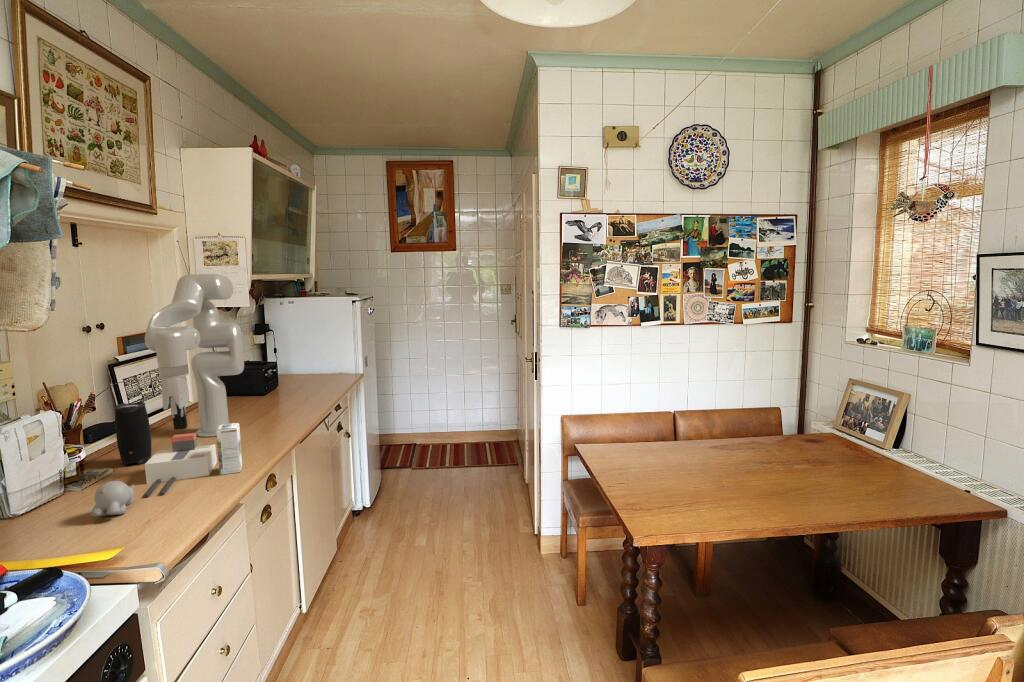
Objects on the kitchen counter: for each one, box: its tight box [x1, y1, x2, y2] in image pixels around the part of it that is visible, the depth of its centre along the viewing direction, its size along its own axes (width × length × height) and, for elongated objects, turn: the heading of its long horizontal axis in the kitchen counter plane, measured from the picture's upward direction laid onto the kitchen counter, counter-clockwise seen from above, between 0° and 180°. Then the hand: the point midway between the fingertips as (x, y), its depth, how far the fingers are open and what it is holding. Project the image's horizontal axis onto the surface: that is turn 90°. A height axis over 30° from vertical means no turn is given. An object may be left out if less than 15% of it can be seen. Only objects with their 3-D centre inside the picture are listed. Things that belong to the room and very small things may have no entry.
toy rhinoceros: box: [90, 480, 135, 517], centre depth 130 cm, size 7×12×8 cm, turn 6°
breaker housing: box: [144, 443, 218, 485], centre depth 155 cm, size 12×16×6 cm
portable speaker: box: [114, 401, 152, 467], centre depth 163 cm, size 9×9×20 cm
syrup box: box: [216, 422, 243, 476], centre depth 155 cm, size 6×6×14 cm
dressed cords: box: [144, 477, 176, 498], centre depth 143 cm, size 11×5×1 cm, turn 20°
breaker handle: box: [170, 432, 198, 451], centre depth 158 cm, size 3×6×4 cm, turn 110°
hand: (180, 428), depth 155 cm, fingers closed
